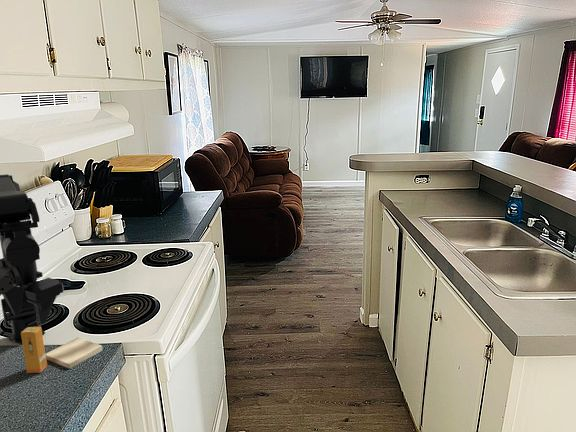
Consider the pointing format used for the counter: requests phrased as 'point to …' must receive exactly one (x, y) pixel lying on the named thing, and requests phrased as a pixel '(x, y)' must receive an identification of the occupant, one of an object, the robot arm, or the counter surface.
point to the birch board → (73, 352)
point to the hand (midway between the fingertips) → (29, 319)
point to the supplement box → (34, 349)
